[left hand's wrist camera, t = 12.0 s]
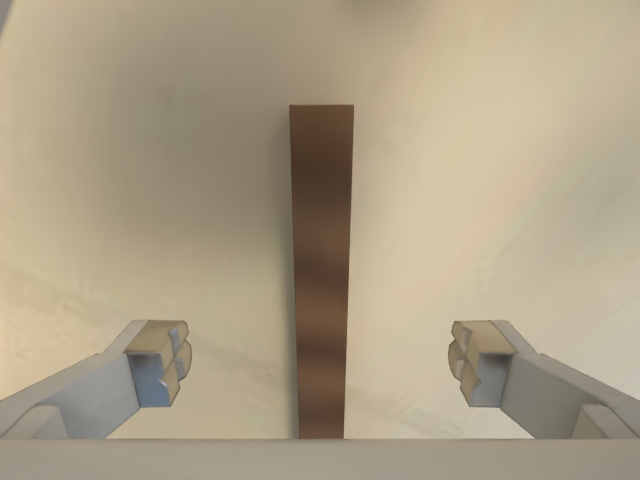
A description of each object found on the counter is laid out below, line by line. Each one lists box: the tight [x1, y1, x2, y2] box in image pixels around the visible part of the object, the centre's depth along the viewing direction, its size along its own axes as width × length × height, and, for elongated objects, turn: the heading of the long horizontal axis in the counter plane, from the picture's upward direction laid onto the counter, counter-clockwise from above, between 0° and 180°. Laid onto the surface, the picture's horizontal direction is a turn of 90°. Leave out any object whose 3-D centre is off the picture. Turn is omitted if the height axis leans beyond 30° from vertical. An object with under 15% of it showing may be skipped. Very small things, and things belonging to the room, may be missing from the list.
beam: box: [289, 105, 354, 439], centre depth 41 cm, size 78×5×6 cm, turn 0°
